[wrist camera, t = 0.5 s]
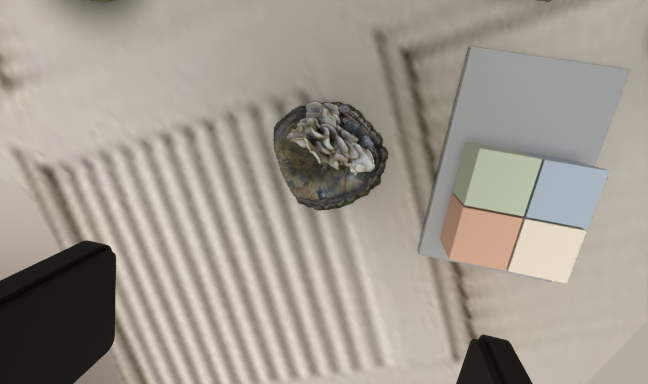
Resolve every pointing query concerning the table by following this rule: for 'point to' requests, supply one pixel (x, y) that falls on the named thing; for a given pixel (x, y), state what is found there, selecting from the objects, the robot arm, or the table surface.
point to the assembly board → (522, 118)
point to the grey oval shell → (329, 154)
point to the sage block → (496, 178)
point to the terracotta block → (479, 235)
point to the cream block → (545, 249)
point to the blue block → (565, 191)
